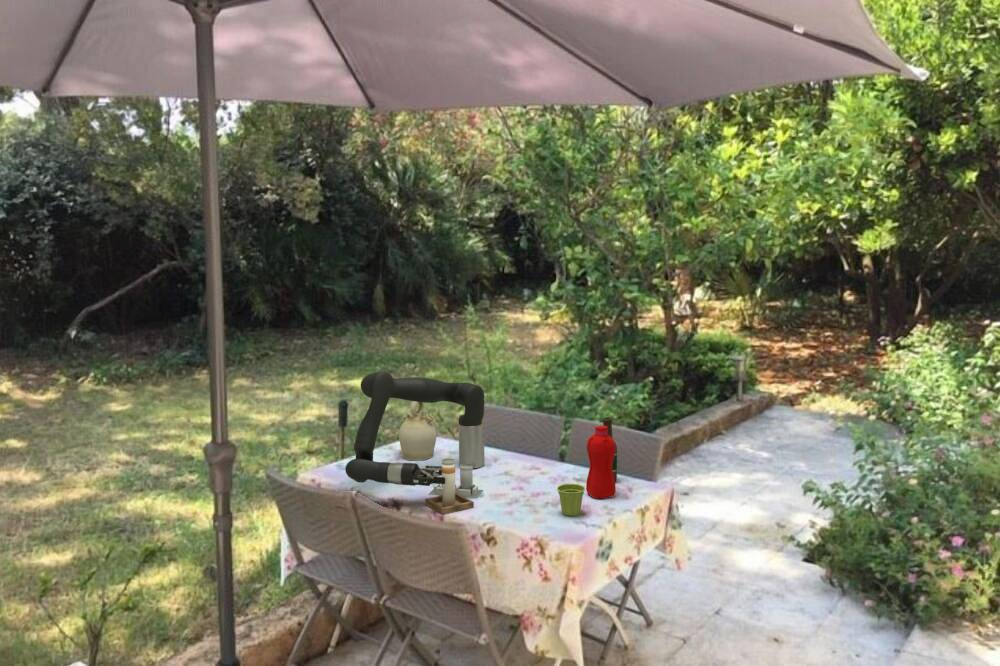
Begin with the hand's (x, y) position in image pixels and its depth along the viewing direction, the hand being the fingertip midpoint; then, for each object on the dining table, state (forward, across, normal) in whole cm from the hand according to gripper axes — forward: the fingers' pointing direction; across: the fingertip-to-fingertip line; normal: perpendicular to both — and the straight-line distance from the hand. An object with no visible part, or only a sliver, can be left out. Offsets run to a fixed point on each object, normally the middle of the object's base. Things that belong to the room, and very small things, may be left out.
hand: (448, 476), depth 275 cm
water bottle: (+48, +25, +11) cm, 55 cm away
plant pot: (+41, +4, +11) cm, 43 cm away
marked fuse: (0, 0, +10) cm, 10 cm away
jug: (-31, +56, +11) cm, 65 cm away
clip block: (-2, +14, +11) cm, 18 cm away
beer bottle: (+49, +40, +11) cm, 65 cm away
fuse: (+2, +14, +10) cm, 18 cm away
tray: (0, 0, +11) cm, 11 cm away
